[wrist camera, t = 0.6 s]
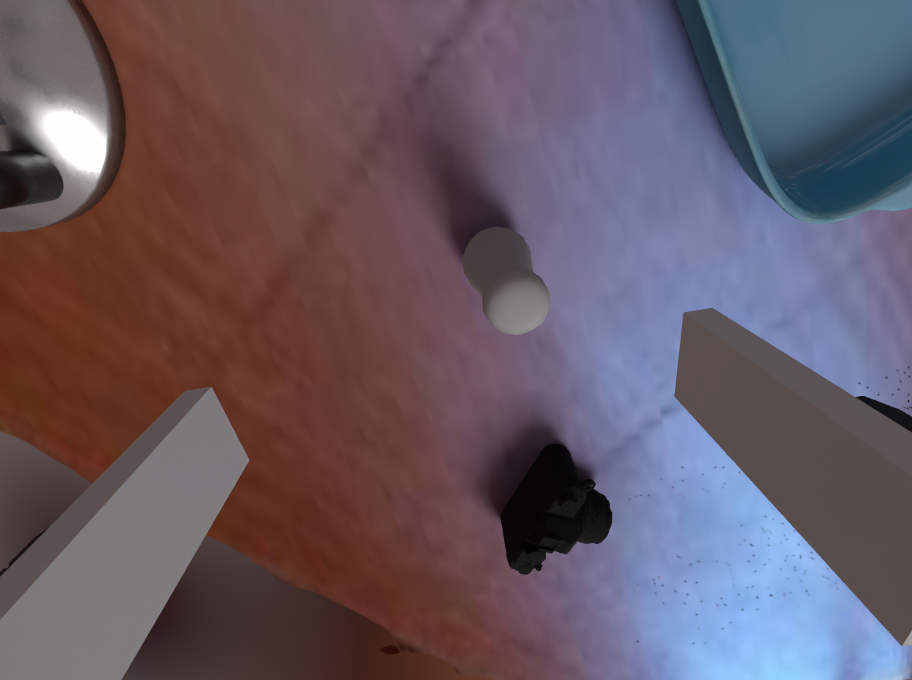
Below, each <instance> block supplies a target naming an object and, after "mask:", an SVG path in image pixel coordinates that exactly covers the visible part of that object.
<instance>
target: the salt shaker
mask: <svg viewBox="0 0 912 680" xmlns="http://www.w3.org/2000/svg"><path fill="white" fill-rule="evenodd" d="M463 267H464V273H465V275H466V276H467V278H468V280H469V281H470V283H471V285H472V286H473V287H474V288H475V289H476V290H477V291H478V292H479V293H480V294H481V295H482V300H483V312H484V313H485V315H486V317H487V319H488V320H489V322H490V324H491V325H492V326H493V327H495V328H496V329H498V330H500V331H501V332H503V333H506V334H514V335H520V334H523V333H526V332H529V331H532V330H533V329H534V328H536V327H537V326H538V325H539V324H541V323H542V322H543V321H544V319H545V317H546V315H547V313H548V311H549V299H550V295H549V291H548V289H547V287H546V285H545V283H544V282H543V280H542V279H541V278H540V277H539V276H538V275H536V274H535V273H534V272H533V269H532V260H531V252H530V249H529V247H528V245H527V243H526V242H525V240H524V238H523V237H522V236H521V235H519V234H518V233H517V232H515V231H514V230H512V229H511V228H504V227H491V228H488V229H485V230H481V231H479V232H478V233H477V234H476V235H475V236H474V237H473V238H472V239H471V240H470V241H469V243H468V245H467V248H466V250H465V252H464V255H463Z"/></svg>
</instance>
